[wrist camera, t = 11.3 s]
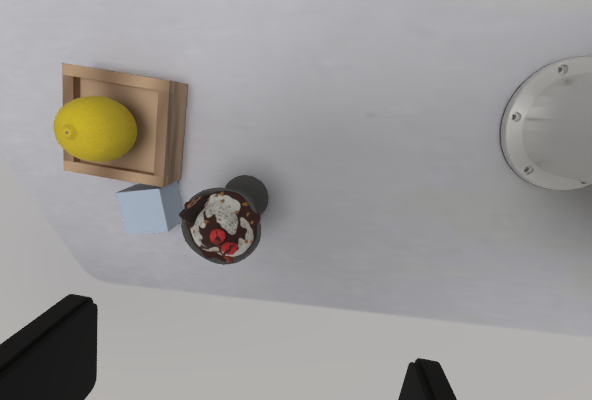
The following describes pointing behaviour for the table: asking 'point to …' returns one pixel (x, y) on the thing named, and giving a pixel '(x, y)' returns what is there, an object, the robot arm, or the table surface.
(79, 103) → the lemon
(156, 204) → the slate cube
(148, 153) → the wooden open box
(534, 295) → the table surface
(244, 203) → the sundae
